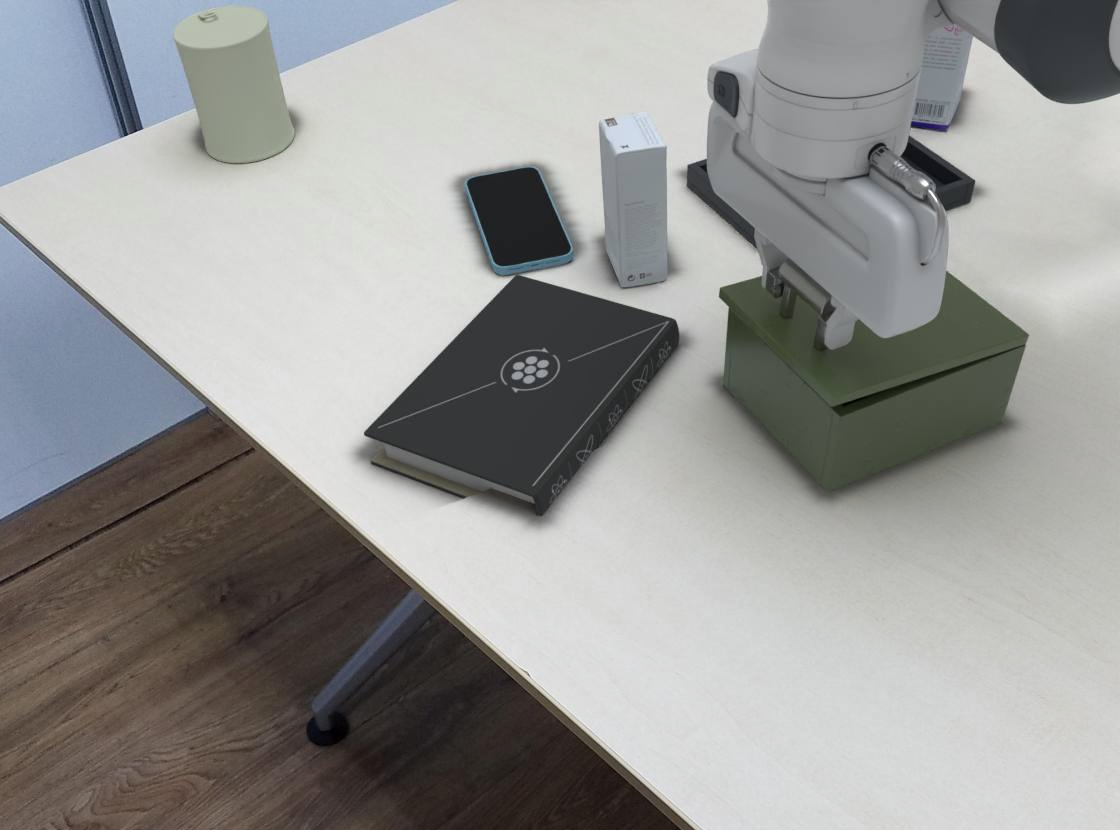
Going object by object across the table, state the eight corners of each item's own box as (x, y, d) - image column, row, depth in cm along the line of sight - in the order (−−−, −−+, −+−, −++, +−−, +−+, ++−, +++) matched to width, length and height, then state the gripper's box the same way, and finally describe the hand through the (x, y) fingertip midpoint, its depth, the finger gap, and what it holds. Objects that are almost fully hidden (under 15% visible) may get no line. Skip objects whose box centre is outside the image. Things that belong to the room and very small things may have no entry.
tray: (864, 127, 112) (867, 106, 110) (970, 202, 102) (976, 180, 101) (686, 185, 108) (687, 164, 106) (779, 269, 98) (782, 247, 96)
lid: (831, 407, 73) (846, 341, 69) (717, 297, 81) (726, 232, 78) (1026, 344, 77) (1050, 278, 73) (899, 245, 86) (916, 181, 82)
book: (542, 528, 80) (539, 497, 78) (369, 463, 86) (362, 432, 84) (679, 351, 92) (680, 319, 90) (519, 304, 98) (516, 273, 95)
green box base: (825, 504, 80) (840, 417, 74) (721, 393, 88) (728, 307, 82) (998, 433, 83) (1026, 345, 77) (882, 333, 91) (900, 246, 86)
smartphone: (494, 269, 100) (462, 178, 109) (495, 280, 100) (463, 188, 110) (576, 253, 100) (537, 164, 110) (576, 264, 101) (538, 174, 110)
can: (267, 109, 124) (238, -9, 115) (311, 140, 119) (284, 19, 109) (190, 140, 120) (153, 22, 111) (232, 174, 115) (197, 52, 106)
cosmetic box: (669, 281, 98) (673, 145, 89) (617, 290, 98) (615, 155, 89) (650, 242, 102) (652, 108, 93) (600, 250, 102) (597, 117, 93)
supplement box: (960, 103, 113) (987, -21, 105) (947, 132, 110) (974, 7, 101) (900, 95, 115) (921, -27, 107) (885, 124, 112) (906, 0, 103)
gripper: (1000, 177, 60) (945, 388, 71) (780, 31, 73) (762, 228, 83) (898, 213, 59) (858, 422, 69) (692, 57, 71) (685, 254, 82)
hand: (804, 315), depth 76 cm, fingers closed on lid, 5 cm apart
